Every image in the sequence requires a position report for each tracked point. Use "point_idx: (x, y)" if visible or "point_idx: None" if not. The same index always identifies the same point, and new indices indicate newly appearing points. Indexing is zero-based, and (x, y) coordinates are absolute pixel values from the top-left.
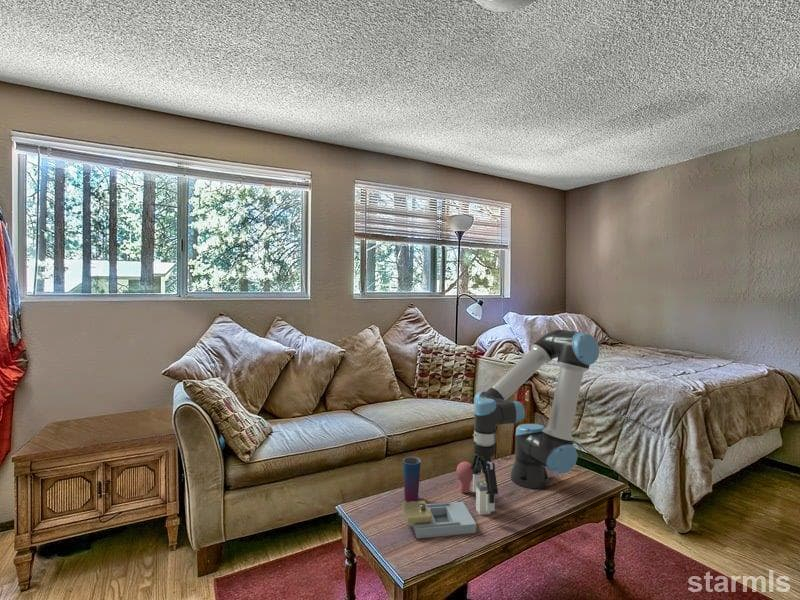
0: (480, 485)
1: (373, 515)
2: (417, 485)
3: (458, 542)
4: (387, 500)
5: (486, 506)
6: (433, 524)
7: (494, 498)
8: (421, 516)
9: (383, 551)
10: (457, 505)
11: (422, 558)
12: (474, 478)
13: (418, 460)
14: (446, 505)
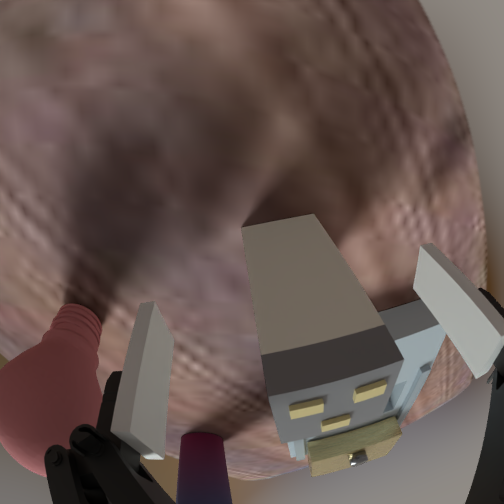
0: (353, 421)
1: (284, 462)
2: (217, 481)
3: (445, 337)
4: None
5: (429, 305)
6: (405, 413)
7: (483, 298)
8: (392, 444)
9: (402, 427)
10: None
11: (448, 383)
12: (162, 427)
13: None
14: None
